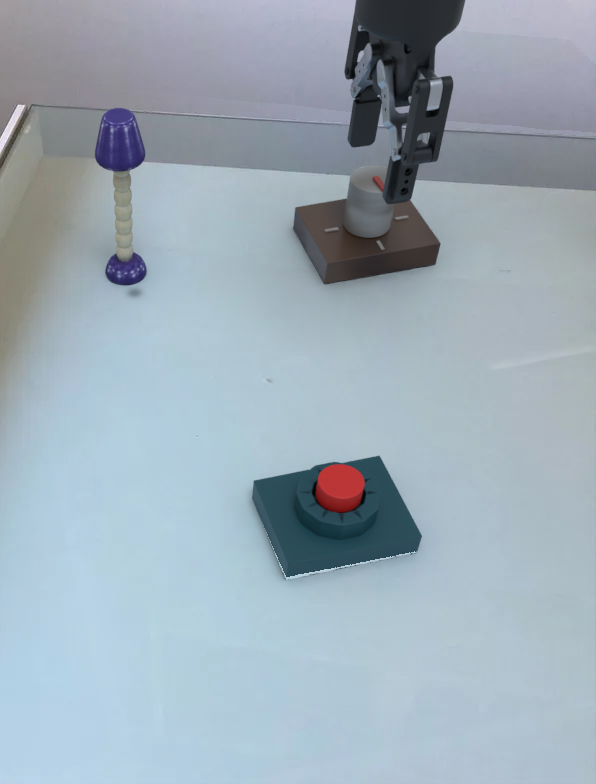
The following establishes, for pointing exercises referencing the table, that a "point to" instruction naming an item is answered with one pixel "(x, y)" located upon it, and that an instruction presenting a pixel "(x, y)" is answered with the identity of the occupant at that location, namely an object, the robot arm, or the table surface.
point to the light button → (339, 488)
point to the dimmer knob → (367, 203)
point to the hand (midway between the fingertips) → (377, 171)
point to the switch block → (334, 520)
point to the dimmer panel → (363, 242)
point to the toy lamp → (121, 188)
